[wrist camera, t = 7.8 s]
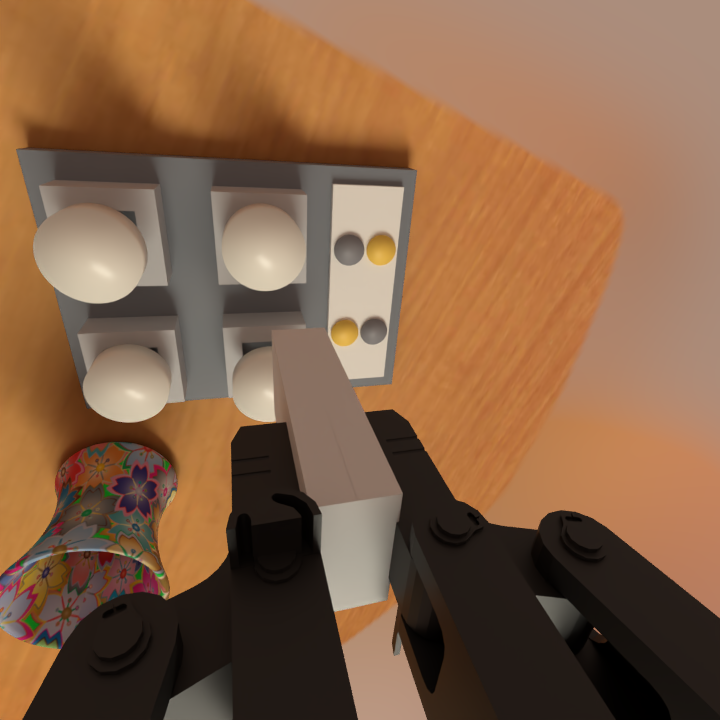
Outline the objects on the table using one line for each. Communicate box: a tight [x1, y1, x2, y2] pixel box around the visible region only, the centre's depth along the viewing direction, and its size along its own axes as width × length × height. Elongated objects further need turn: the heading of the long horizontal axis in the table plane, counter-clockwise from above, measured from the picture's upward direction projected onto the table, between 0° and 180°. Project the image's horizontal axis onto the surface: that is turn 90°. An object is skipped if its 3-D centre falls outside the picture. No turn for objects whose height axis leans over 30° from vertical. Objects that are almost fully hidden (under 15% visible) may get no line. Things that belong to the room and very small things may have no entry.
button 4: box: [222, 203, 306, 291], centre depth 25 cm, size 4×4×4 cm
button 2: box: [33, 203, 148, 303], centre depth 22 cm, size 4×4×4 cm
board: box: [16, 148, 417, 409], centre depth 29 cm, size 22×16×4 cm
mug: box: [0, 442, 178, 649], centre depth 31 cm, size 12×9×11 cm
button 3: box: [232, 346, 276, 422], centre depth 28 cm, size 4×4×4 cm
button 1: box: [83, 344, 172, 423], centre depth 27 cm, size 4×4×4 cm
